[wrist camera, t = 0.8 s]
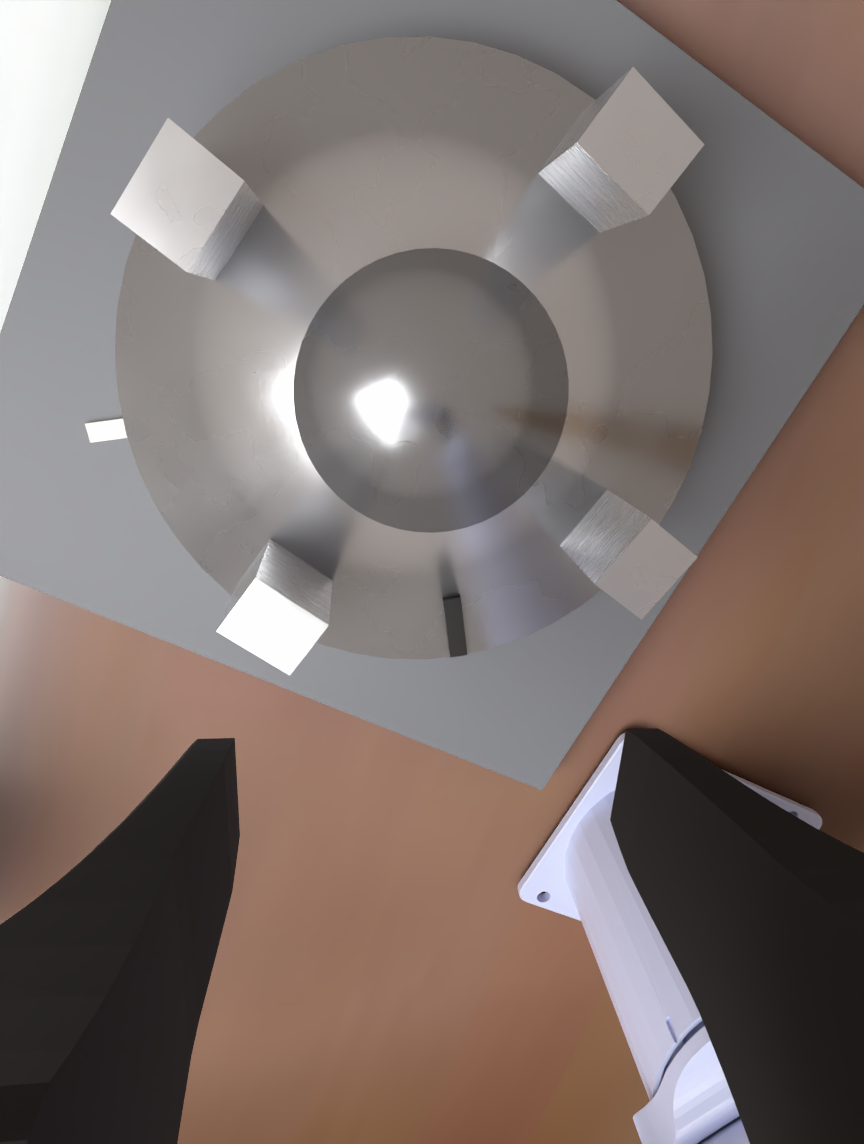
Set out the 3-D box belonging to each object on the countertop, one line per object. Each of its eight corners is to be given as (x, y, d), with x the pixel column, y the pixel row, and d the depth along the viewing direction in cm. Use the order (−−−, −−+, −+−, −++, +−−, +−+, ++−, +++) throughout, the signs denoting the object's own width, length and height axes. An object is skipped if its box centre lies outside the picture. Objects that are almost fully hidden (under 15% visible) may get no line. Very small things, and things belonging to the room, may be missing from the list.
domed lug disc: (361, -115, 15) (364, -269, 11) (799, 337, 19) (913, 342, 15) (19, 443, 18) (-74, 478, 14) (463, 724, 22) (486, 810, 19)
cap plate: (883, 232, 20) (919, 226, 19) (533, 769, 25) (543, 793, 24) (223, -260, 15) (211, -314, 14) (-48, 534, 20) (-75, 549, 19)
